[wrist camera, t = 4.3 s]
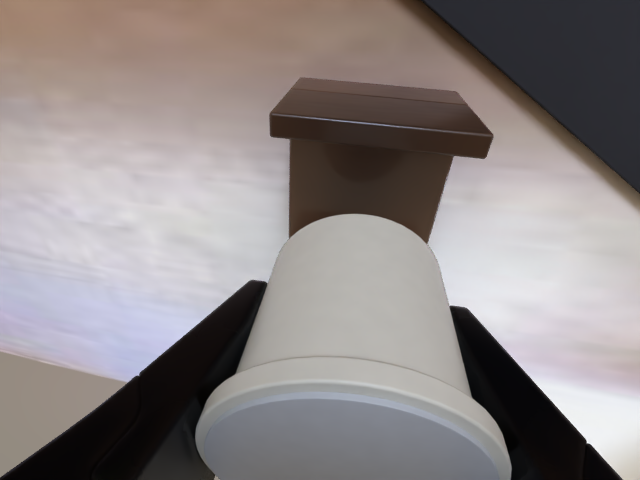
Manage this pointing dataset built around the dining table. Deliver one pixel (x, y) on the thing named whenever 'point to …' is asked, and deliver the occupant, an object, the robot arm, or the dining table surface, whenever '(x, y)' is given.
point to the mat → (566, 64)
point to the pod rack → (373, 150)
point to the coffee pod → (351, 369)
